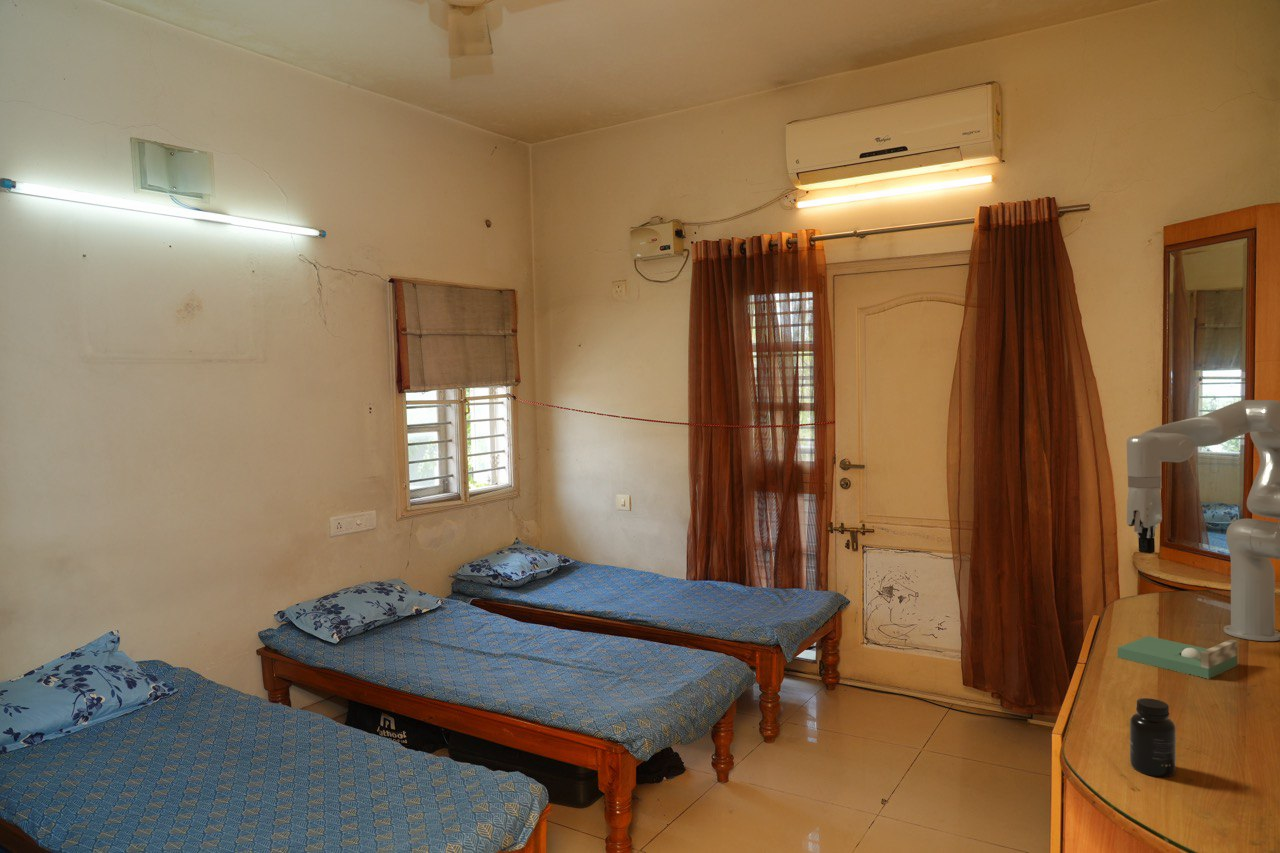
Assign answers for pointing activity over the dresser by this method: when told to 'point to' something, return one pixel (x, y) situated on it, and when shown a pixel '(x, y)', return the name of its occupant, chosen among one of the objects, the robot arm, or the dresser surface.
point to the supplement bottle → (1152, 739)
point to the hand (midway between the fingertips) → (1146, 552)
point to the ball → (1191, 653)
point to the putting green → (1171, 657)
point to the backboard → (1218, 653)
